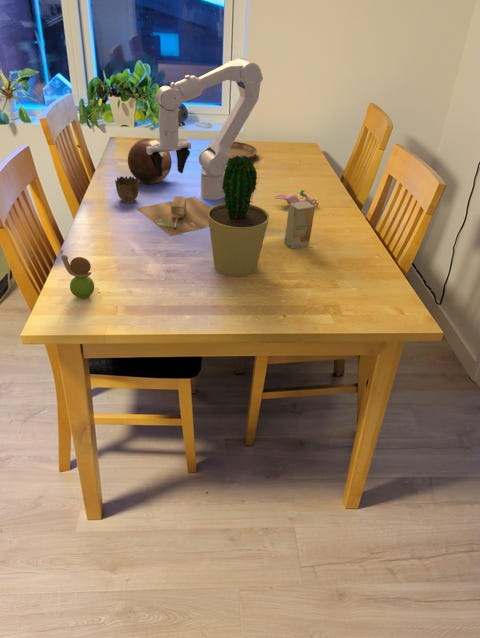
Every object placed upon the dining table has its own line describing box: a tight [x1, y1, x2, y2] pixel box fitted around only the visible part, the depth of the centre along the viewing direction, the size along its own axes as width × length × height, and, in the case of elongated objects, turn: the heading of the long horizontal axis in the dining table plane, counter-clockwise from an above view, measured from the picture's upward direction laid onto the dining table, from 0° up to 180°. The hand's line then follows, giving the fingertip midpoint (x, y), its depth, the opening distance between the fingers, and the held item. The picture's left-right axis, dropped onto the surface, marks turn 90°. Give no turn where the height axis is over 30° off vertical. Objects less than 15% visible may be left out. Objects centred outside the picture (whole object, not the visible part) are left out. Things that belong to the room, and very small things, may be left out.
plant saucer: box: [227, 141, 258, 163], centre depth 212 cm, size 21×21×3 cm
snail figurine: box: [59, 249, 95, 299], centre depth 118 cm, size 5×6×12 cm
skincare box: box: [283, 201, 316, 249], centre depth 147 cm, size 6×4×12 cm
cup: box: [114, 176, 140, 203], centre depth 165 cm, size 8×7×8 cm
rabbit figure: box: [273, 189, 319, 207], centre depth 172 cm, size 6×6×15 cm
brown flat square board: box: [136, 196, 212, 237], centre depth 160 cm, size 21×22×1 cm
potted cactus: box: [208, 153, 270, 278], centre depth 129 cm, size 15×15×30 cm
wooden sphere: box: [127, 138, 172, 185], centre depth 179 cm, size 15×15×15 cm
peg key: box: [171, 195, 187, 228], centre depth 156 cm, size 4×14×4 cm, turn 179°
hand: (169, 174), depth 164 cm, fingers open, 7 cm apart
